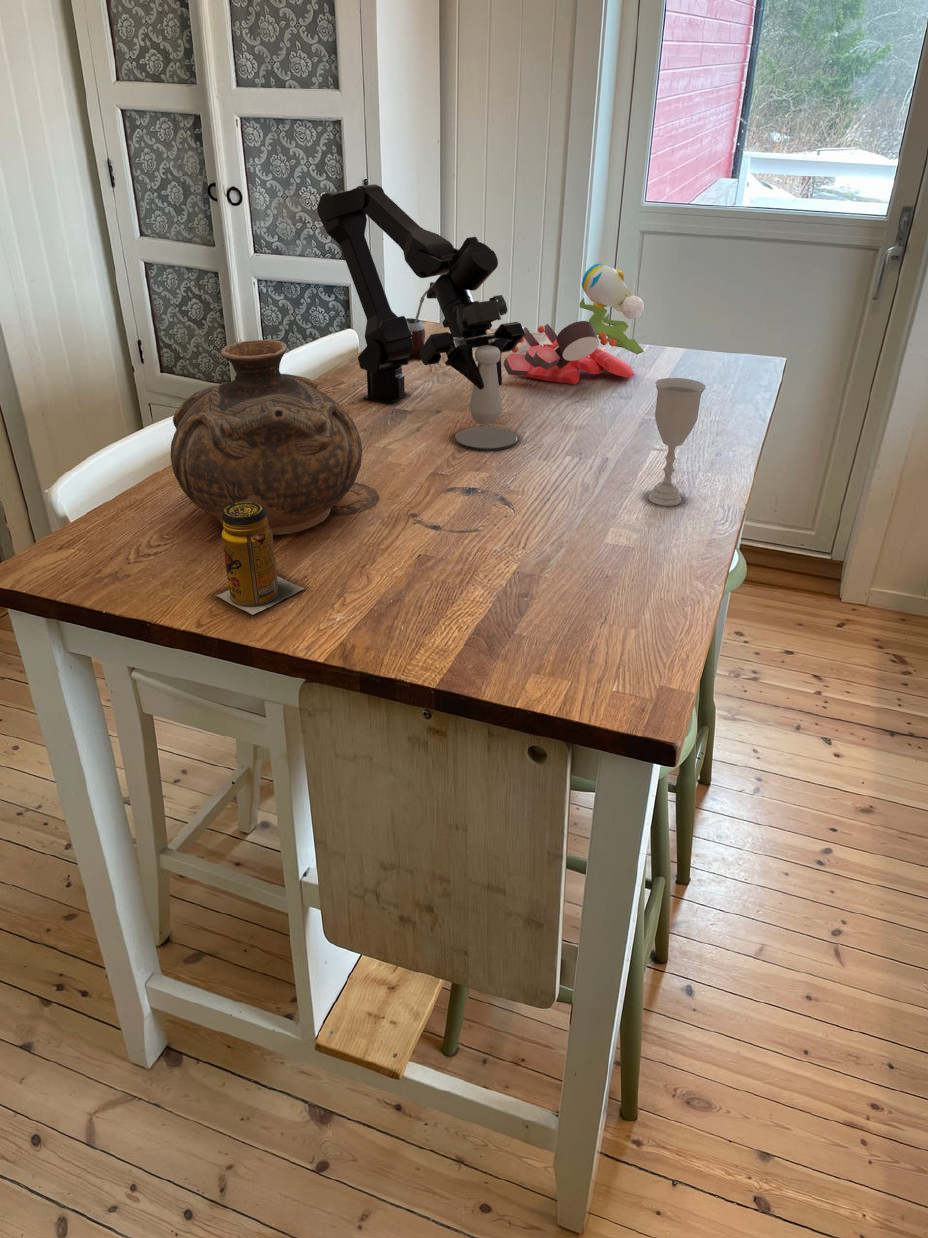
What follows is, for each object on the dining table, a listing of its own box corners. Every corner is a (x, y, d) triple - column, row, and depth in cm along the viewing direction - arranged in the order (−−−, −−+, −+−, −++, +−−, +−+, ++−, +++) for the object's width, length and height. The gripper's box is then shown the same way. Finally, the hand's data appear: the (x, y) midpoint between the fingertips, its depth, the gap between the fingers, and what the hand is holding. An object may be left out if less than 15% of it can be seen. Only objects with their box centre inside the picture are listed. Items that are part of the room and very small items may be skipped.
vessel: (287, 573, 123) (257, 384, 111) (142, 533, 136) (101, 361, 124) (406, 500, 143) (392, 333, 130) (269, 471, 156) (244, 317, 143)
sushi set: (546, 412, 183) (465, 341, 192) (605, 433, 208) (531, 370, 217) (639, 284, 172) (549, 216, 181) (689, 323, 198) (608, 262, 207)
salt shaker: (503, 416, 167) (506, 343, 161) (501, 427, 163) (504, 352, 156) (470, 414, 168) (472, 341, 161) (467, 425, 163) (469, 350, 156)
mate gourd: (388, 359, 209) (386, 289, 201) (403, 350, 215) (402, 282, 207) (419, 363, 206) (418, 292, 199) (433, 354, 213) (433, 285, 205)
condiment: (215, 596, 118) (203, 509, 112) (268, 572, 124) (259, 488, 118) (252, 616, 114) (241, 527, 108) (305, 590, 120) (297, 504, 114)
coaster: (445, 444, 164) (445, 442, 164) (469, 425, 173) (469, 422, 173) (503, 454, 161) (503, 452, 160) (525, 434, 169) (525, 431, 169)
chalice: (691, 493, 147) (708, 381, 138) (685, 511, 142) (703, 394, 133) (645, 487, 149) (658, 375, 140) (637, 503, 144) (651, 388, 135)
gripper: (428, 284, 151) (463, 370, 149) (522, 273, 160) (557, 354, 158) (405, 323, 161) (438, 404, 159) (494, 310, 170) (527, 387, 168)
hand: (491, 386), depth 161 cm, fingers closed on salt shaker, 3 cm apart
